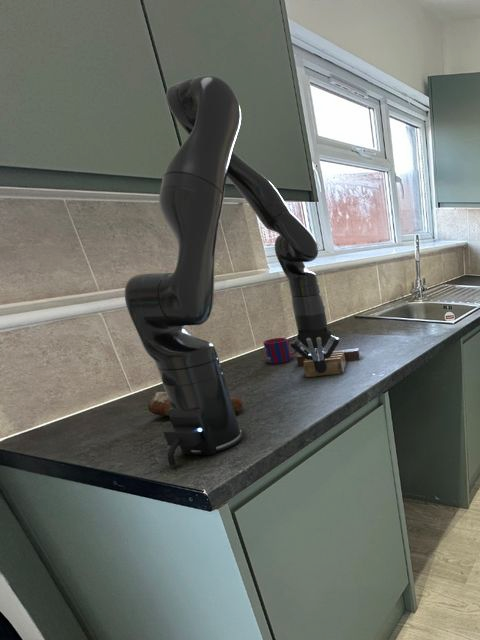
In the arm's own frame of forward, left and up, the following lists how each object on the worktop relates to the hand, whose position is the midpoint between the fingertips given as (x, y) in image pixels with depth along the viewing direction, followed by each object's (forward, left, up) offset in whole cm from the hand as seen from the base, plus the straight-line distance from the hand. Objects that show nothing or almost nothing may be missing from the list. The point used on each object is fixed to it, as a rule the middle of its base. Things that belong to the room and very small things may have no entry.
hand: (321, 372), depth 118 cm
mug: (+16, +21, -2) cm, 26 cm away
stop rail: (+14, +5, -1) cm, 15 cm away
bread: (-24, +17, -2) cm, 29 cm away
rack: (+6, +2, -1) cm, 6 cm away
